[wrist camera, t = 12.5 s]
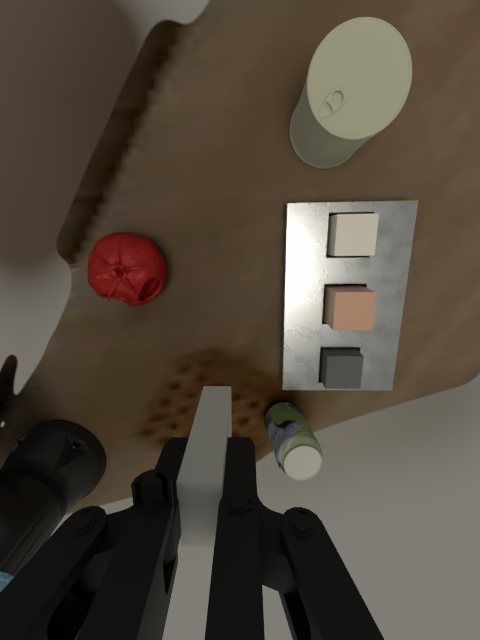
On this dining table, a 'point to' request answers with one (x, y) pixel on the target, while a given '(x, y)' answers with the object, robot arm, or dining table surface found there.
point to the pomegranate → (126, 268)
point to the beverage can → (293, 442)
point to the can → (350, 91)
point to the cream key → (352, 234)
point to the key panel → (368, 271)
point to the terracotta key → (349, 307)
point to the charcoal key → (340, 367)
